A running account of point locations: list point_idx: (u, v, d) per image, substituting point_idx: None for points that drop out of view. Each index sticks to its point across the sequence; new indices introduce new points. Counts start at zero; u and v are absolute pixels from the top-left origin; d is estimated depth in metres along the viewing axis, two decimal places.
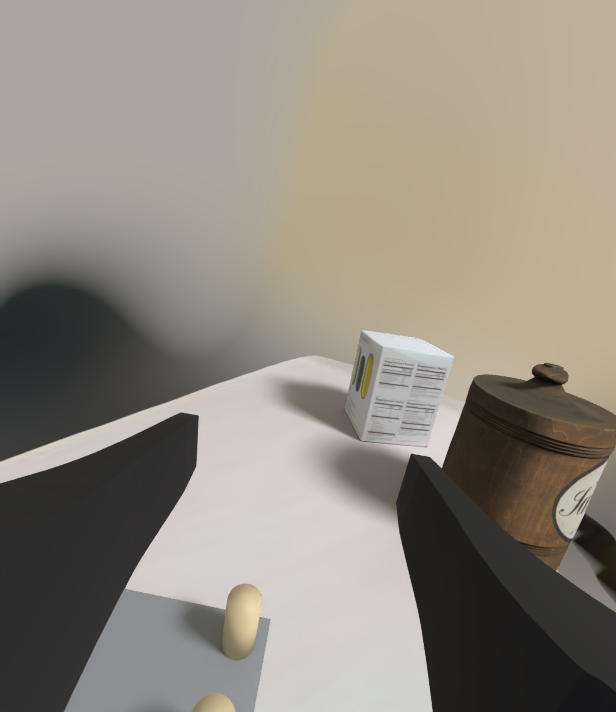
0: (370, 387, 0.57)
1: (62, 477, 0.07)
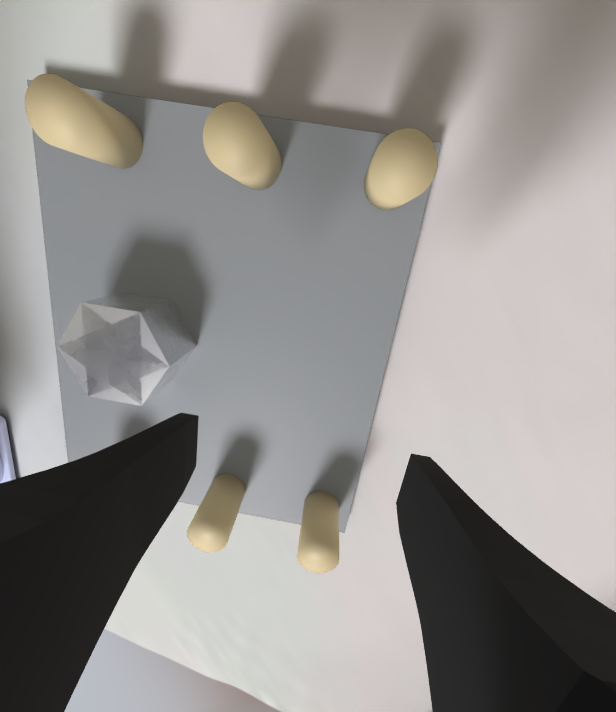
0: None
1: (61, 478, 0.07)
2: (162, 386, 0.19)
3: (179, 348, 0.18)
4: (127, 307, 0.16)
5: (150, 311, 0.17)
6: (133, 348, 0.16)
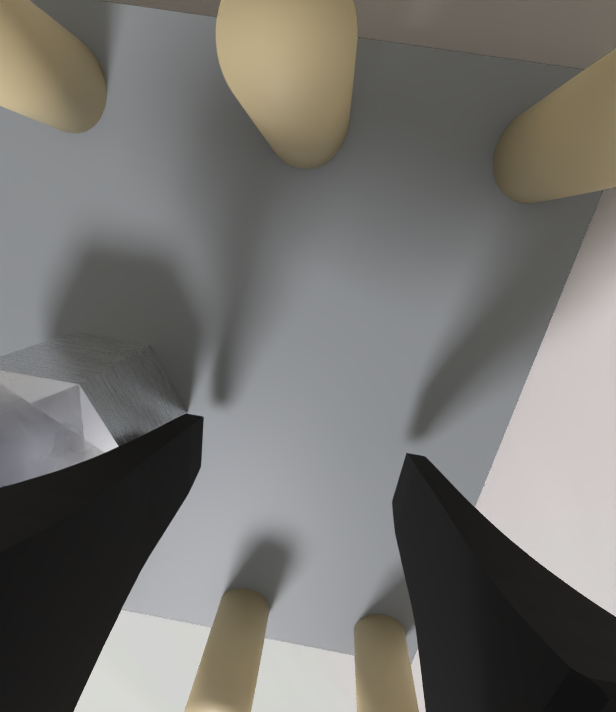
0: None
1: (70, 479, 0.07)
2: None
3: None
4: (59, 373, 0.09)
5: (101, 376, 0.10)
6: (72, 443, 0.09)
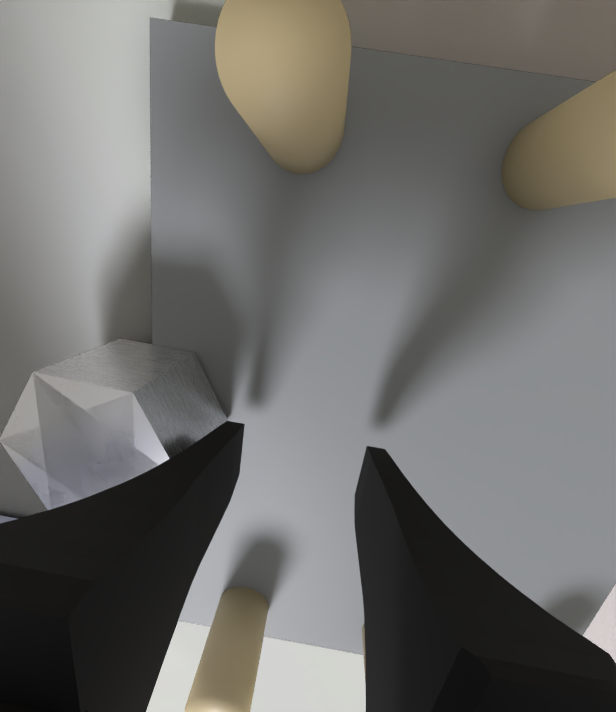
0: None
1: (138, 492, 0.06)
2: None
3: None
4: (112, 381, 0.09)
5: (152, 384, 0.10)
6: (123, 451, 0.09)
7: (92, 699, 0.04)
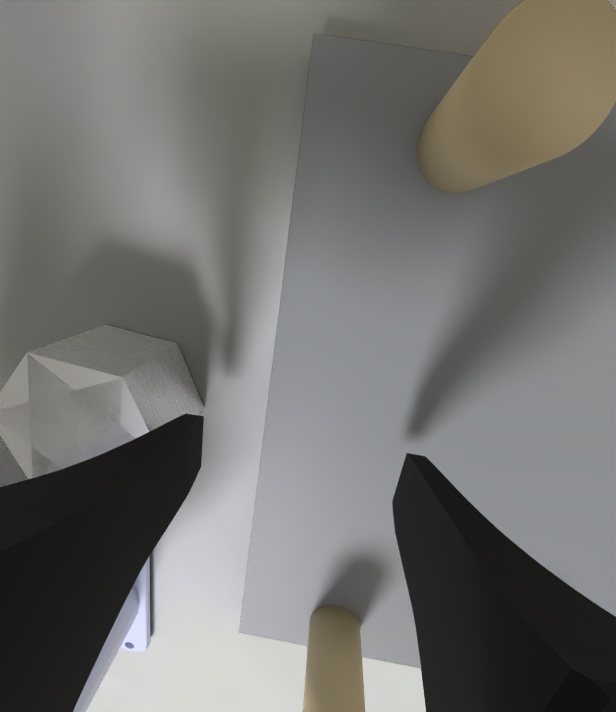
0: None
1: (70, 480, 0.07)
2: None
3: None
4: (103, 365, 0.10)
5: (139, 370, 0.11)
6: (108, 429, 0.10)
7: None
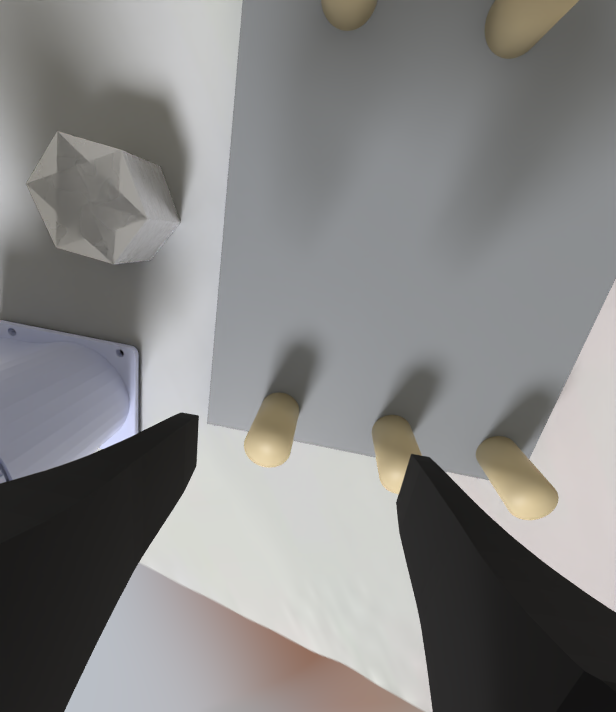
0: None
1: (62, 477, 0.07)
2: (138, 256, 0.18)
3: (161, 212, 0.17)
4: (108, 146, 0.15)
5: (132, 157, 0.15)
6: (110, 193, 0.15)
7: None
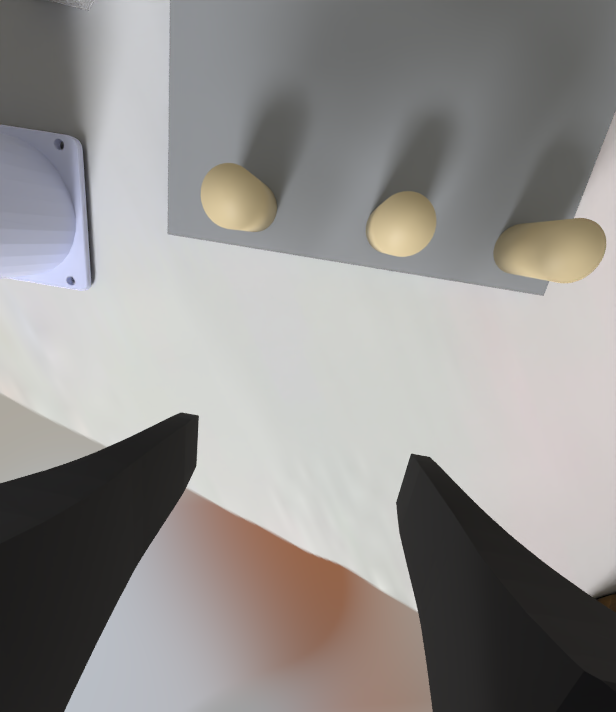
0: None
1: (62, 477, 0.07)
2: None
3: None
4: None
5: None
6: None
7: None
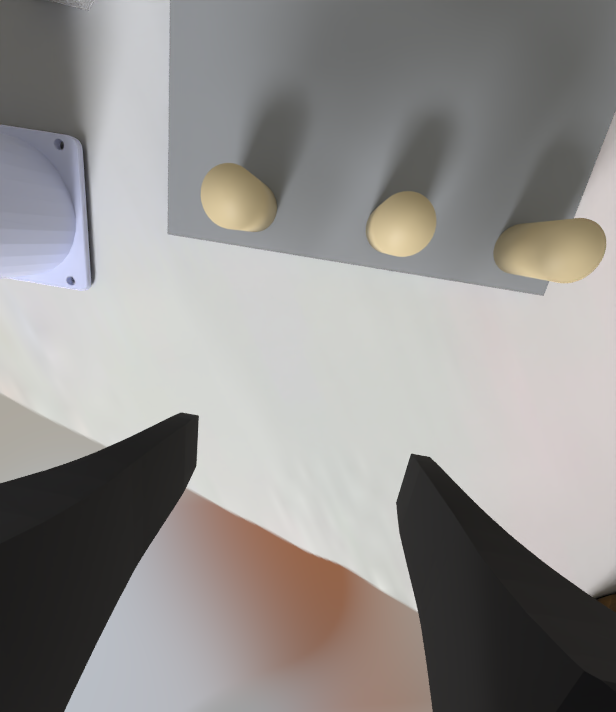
0: None
1: (62, 477, 0.07)
2: None
3: None
4: None
5: None
6: None
7: None
